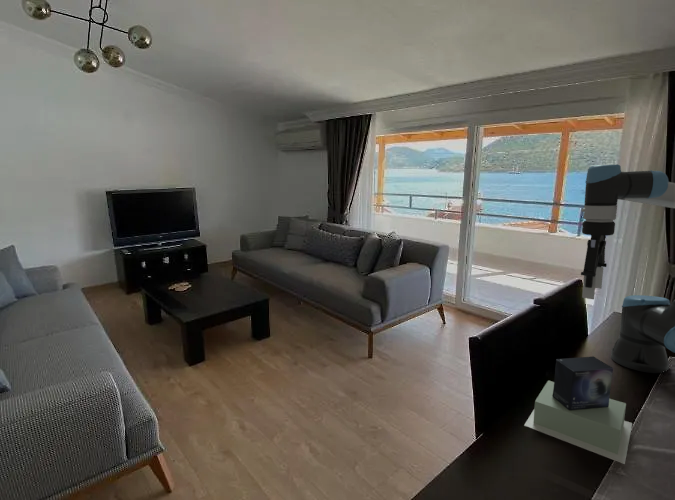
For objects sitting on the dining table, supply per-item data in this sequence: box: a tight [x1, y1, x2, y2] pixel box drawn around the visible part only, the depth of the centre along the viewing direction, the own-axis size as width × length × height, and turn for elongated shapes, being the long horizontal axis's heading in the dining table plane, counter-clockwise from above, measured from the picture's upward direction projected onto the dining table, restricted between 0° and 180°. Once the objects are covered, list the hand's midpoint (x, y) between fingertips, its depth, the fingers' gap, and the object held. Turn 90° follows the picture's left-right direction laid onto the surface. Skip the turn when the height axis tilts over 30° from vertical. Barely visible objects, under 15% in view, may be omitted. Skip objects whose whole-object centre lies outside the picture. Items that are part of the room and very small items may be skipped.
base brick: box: [533, 380, 627, 454], centre depth 91 cm, size 13×17×6 cm
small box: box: [552, 355, 614, 410], centre depth 89 cm, size 11×6×10 cm, turn 96°
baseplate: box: [523, 409, 633, 465], centre depth 91 cm, size 18×20×1 cm
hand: (592, 292), depth 107 cm, fingers open, 13 cm apart
